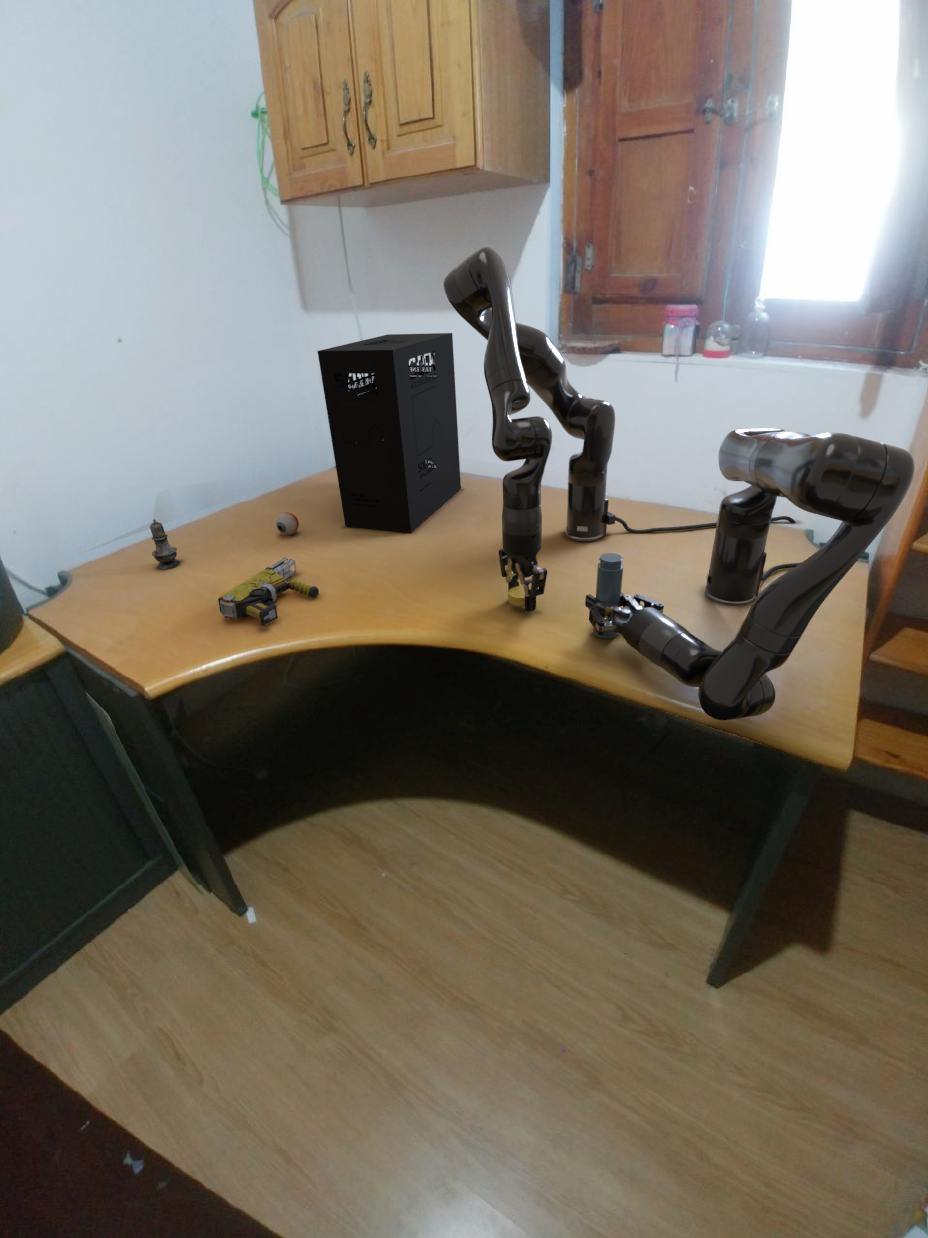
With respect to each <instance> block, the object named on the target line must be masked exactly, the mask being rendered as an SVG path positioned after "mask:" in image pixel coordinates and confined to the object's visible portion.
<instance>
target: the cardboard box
mask: <svg viewBox="0 0 928 1238" xmlns="http://www.w3.org/2000/svg"><path fill="white" fill-rule="evenodd" d="M453 337H454V336H453V332H438V333H437V332H436V333H434V332H433V333H432V332H431V333H397V334H396V333H393V334H384V335H380V336H376V337H372V338H367V339H363V340H362V339H361V340H359V341H354V342H349V343H345V344H341V345H337V346H332V347H328V348H324V349H320V350H317V357H318V363H319V371H320V376H321V381H322V387H323V394H324V400H325V407H326V413H327V420H328V427H329V431H330V438H331V439H330V440H331V445H332V450H333V457H334V463H335V464H334V465H335V470H336V476H337V483H338V488H339V494H340V502H341V508H342V515H343V520H344V526H345V527H346V528H347V527H349V528H350V527H351V528H359V529H369V530H381V531H389V532H400V533H411V534H412V533H413V532H414V531H415V530H416V529H418V528H419V526H421V525H422V524H423V523H424V522H425V521H427V520H428V519H429V518H430V517H431V516H433V514H434V513H436V512H437V511H438V510H439V509H440V508H441V507H442V506H443V505H445V504H446V503H447V502H448V501H449V500H450V499H451V498H452V497H454V496H455V495H456V494H457V493H458V492H460V490H461V489H462V481H461V465H460V463H461V462H460V448H459V428H458V411H457V410H458V409H457V393H456V392H457V391H456V377H455V375H456V374H455V373H456V372H455V358H454V338H453ZM429 354H430V355H429ZM419 357H420V359H419ZM412 359H414V360H412ZM410 360H411V361H410ZM431 361H432V363H431ZM430 363H431V364H430ZM350 374H351V375H350ZM358 374H359V375H360V376H358ZM354 376H355V379H354Z"/></svg>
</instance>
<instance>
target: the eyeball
mask: <svg viewBox="0 0 928 1238" xmlns="http://www.w3.org/2000/svg"><path fill="white" fill-rule="evenodd" d="M299 525H300V522H299V519H298V517H297V516H296V515H295V514H294V513H292V512H287V511H286V512H282V513H280V514H279V515H278V516H277V517H276V520H275V527H276V529H277V530H278V531H279V532H280V533H281V534H282V535H285V536H286V535H287V536H289V535H293V534H295V533H296V532H297V531H298V529H299Z"/></svg>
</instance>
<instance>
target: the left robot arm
mask: <svg viewBox="0 0 928 1238" xmlns="http://www.w3.org/2000/svg"><path fill="white" fill-rule="evenodd" d="M442 288H443V292H444V294H445V297H446V298H447V300H448V302H449V303H450V305H451V306H452V308H453V309H454V310H455V311H456V312H457V314H458V315H459V316H460V317H461V318H462V319H463V320H464V321H465V322H466V323H467V324H468V325H470V326H471V327H472V328H473V329H474V330H475V331H476V332H477V333H478V334H479V335H481V336H482V337H483V338H484V339H485V340H486V341H487V343H486V347H485V352H484V359H483V373H484V374H483V375H484V379H485V383H486V387H487V391H488V394H489V398H490V403H491V413H492V429H491V448H492V451H493V452H494V455H495V456H496V457H497V458H498V459H499V460H501V461H502V462H516V461H523V460H524V462H523V464H522V465H521V466H519V467H518V468H516V469H514V470H511V471H509V472H507V473H506V474H505V475H504V476H503V478H502V511H501V539H502V540H501V541H502V543H501V544H502V545H501V546H502V548H500V549H498V551H497V552H498V561H499V567H500V575H501V577H502V578H505V582H506V584H507V592H508V591H509V589H511V588H513V587H516V586H523V587H524V591H525V606H524V611H525V612H526V613H530V612H534V611H536V609H537V597H538V596H541V595H544V594H545V589H546V582H547V577H548V570H547V568H546V567H544V568H541V567H540V566H539V562H538V558H537V555H538V553H540V551H541V550H542V539H543V538H542V537H543V535H542V534H543V533H542V532H543V531H542V529H543V526H542V525H543V514H542V513H543V512H542V481H543V477H544V473H545V469H546V466H547V462H548V458H549V456H550V453H551V448H552V443H553V431H552V428H551V425H550V423H549V422H548V420H547V419H546V418H544V417H543V416H538V415H537V416H528V417H519V418H511V416H512V415H514V414H516V413H519V412H521V411H522V410H523V411H524V410H525V409H526V408H527V407H528V406H529V404H530V403H531V392H530V389H531V390H533V392H534V393H535V394H536V395H537V396H538V397H539V398H540V399H541V400H542V401H543V402H544V404H545V405H546V406H547V407H548V409H549V410H550V411H551V412H552V414H553V416H555V418H556V420H557V421H558V423H559V424H560V425H561V427H562V428H563V429H564V431H565V432H566V433H567V434H568V435H569V436H571V437H573V438H575V439H579V440H583V445H582V451H580V452H577V453H574V454H572V455H571V456H569V459H568V468H567V469H568V473H567V501H566V502H567V503H566V527H565V536H566V537H567V538H568V539H570V540H572V541H576V542H583V543H584V542H586V543H587V542H594V541H599V540H600V539H602V538H604V536H607V530H608V529H607V528H608V527H607V526H612V525H615V524H616V522H618V523H620V524H621V525H622V526H623V529H624V530H625V531H627V532H629V533H631V534H650V533H657V532H673V531H674V532H675V531H685V530H686V531H687V530H697V529H704V528H712V527H713V528H714V527H716V526H717V521H716V522H707V523H700V524H699V523H698V524H691V525H679V526H678V525H677V526H664V527H651V528H645V529H633V528H631V527H629V526H628V524H627V522H626V521H625V520H623V519H622V518H620V517H619V516H616V515H615V514H613V513H612V512H610V511H609V498H607V497H606V493H607V477H608V465H609V461H610V459H611V456H612V451H613V446H614V445H613V444H614V437H615V436H614V435H615V427H616V412H615V409H614V406H613V405H612V403H610V402H609V401H608V400H602V399H597V398H591V397H586V396H584V395H583V394H581V393H580V392H578V390H577V389H576V388H575V387H574V386H573V385H572V384H571V382H570V381H569V379H568V375H567V365H566V360H565V358H564V355H563V354H562V352H561V351H560V350H559V348H558V346H556V345H555V343H554V342H553V341H552V339H550V337H549V336H548V335H547V334H546V333H545V332H544V331H541V330H540V329H539V328H535V327H532V326H530V325H526V324H524V323H520V322H517V319H516V312H515V305H514V295H513V294H514V293H513V288H512V283H511V277H510V274H509V271H508V268H507V267H506V264H505V262H504V260H502V257H501V256H500V255H499V254H498V253H497V251H496V250H494V249H493V248H492V247H489V246H483V247H481V248H479V249H478V250H476V251H474V252H473V253H472V254H470V255H469V256H468V257H467V258H466V259H464V260H463V261H462V262H461V263H459V264H458V265H457V266H456V267H454V268H453V269H452V270H451V271H450V272H448V273H447V274H446V276H445V277H444V279H443V283H442ZM529 387H530V388H529ZM777 521H788V522H789V523H791V524H796V521H795V519H794V518H792V517H790V516H788V515H780V516H774V517H773V516H772V517H771V522H777ZM527 578H528V579H527ZM529 585H530V586H529ZM529 587H531V589H530V590H529Z"/></svg>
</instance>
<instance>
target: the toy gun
mask: <svg viewBox="0 0 928 1238" xmlns="http://www.w3.org/2000/svg"><path fill="white" fill-rule="evenodd" d="M296 563H297V562H296V560H295V559H294V558H288V557H283V558H282V559H281V560H278V561H277V562H276V563H273V564H272V565H271V566H270V567H269V566H266V567H265V568H264V569H263V570H261V571H259V572H258V573H255V575H253V576H251V577H250V578H248V579H246V580H245V581H243V582H241V583H240V584H238V585H236V586H234V587H233V588H232V589H230V590H228V591H227V592H225V593H224V594H222V595H220V596H219V597H217V603H218V609H219V612H220V614H221V615H222V616H224V619H226V620H227V619H229V620H230V621H231V620H233V619H235V620H241V619H246V618H249V617H253V618H255V619H257V620H258V621H260V626H262V627H265V626H266V625H268V624H270V623H272V622H274V621H275V620H277V619H278V618H279V617H278V608H277V605H276V604H275V602H276V601H277V596H278V595H280V594H282V593H285V592H286V591H288V590H292V591H294V592H297V593H299V594H303V595H305V596H308V597H310V598H311V599H314V598H316V597H318V596H319V595H320V590H319V588H318V586H316V585H315V586H314V585H310V584H308V583H307V584H306V583H305V582H302V581H298V580H297V579H291V580H290V581H289V582H288V581H287V579H288V578H289V579H290V577H292V576H293V575H295V574H296V573H297V566H296V565H297V564H296ZM293 566H294V570H292V569H291V568H292V567H293Z"/></svg>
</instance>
